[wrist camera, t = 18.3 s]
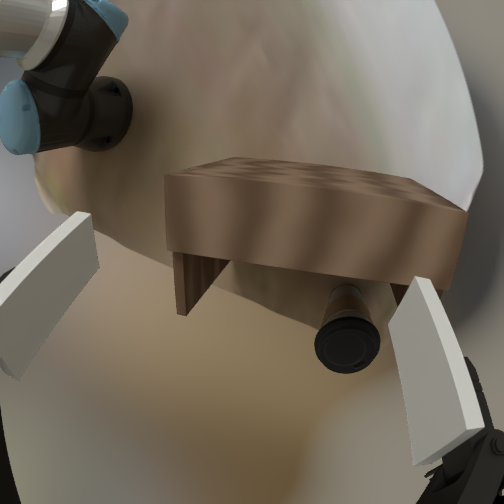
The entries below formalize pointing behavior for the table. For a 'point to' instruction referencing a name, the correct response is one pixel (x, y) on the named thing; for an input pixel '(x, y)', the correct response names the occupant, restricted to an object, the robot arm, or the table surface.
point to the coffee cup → (347, 333)
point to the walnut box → (307, 224)
